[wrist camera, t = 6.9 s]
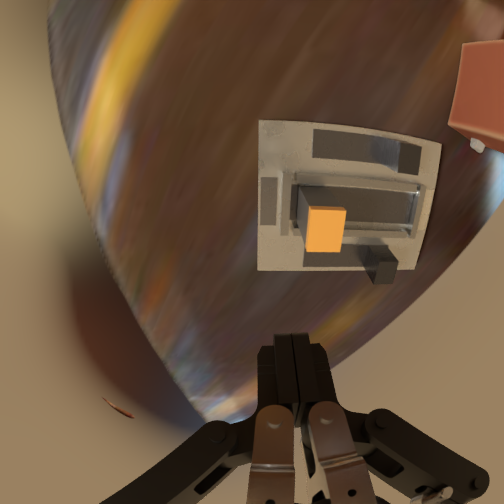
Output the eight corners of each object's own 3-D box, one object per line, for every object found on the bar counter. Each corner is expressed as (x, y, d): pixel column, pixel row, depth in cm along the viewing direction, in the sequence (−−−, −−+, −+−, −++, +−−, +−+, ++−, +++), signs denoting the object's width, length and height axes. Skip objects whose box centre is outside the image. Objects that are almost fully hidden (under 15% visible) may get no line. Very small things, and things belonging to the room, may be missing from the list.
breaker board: (258, 119, 25) (259, 121, 20) (432, 140, 24) (461, 150, 19) (257, 261, 32) (257, 290, 27) (407, 261, 32) (427, 286, 27)
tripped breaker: (298, 186, 25) (311, 209, 20) (327, 187, 25) (346, 210, 20) (296, 221, 27) (306, 252, 22) (323, 221, 27) (340, 252, 22)
